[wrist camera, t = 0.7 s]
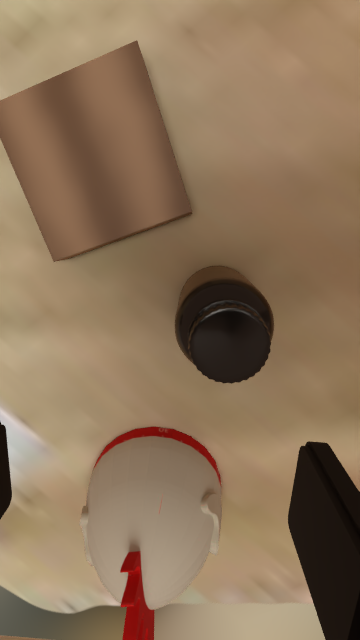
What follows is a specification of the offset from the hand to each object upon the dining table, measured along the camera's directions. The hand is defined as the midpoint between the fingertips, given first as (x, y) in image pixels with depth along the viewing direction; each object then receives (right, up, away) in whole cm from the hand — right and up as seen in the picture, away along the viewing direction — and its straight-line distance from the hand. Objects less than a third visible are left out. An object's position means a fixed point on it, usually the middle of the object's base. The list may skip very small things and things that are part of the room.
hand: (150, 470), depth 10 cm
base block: (-6, +18, +17) cm, 25 cm away
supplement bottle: (+4, +6, +20) cm, 22 cm away
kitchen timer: (-2, -13, +26) cm, 29 cm away
